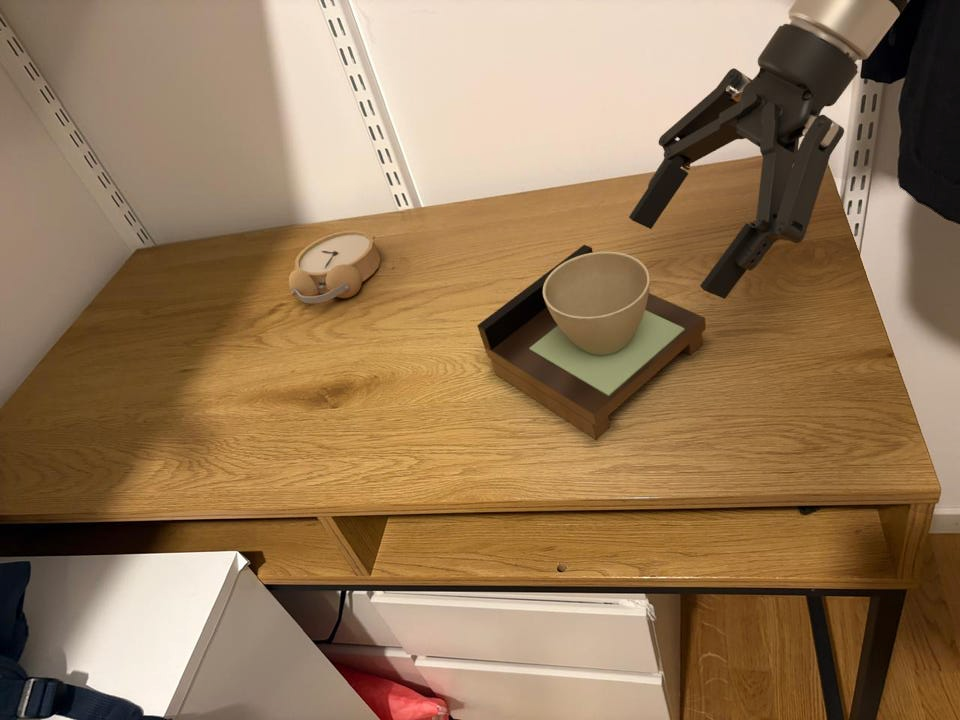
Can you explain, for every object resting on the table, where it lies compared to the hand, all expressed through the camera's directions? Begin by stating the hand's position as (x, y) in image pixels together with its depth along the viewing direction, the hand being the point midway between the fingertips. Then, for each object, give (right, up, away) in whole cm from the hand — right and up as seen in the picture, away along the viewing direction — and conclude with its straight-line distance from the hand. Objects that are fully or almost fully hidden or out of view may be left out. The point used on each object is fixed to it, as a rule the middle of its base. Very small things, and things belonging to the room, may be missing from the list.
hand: (673, 255), depth 71 cm
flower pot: (-6, -8, +4) cm, 11 cm away
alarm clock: (-38, +1, +32) cm, 49 cm away
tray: (-6, -10, +8) cm, 14 cm away
